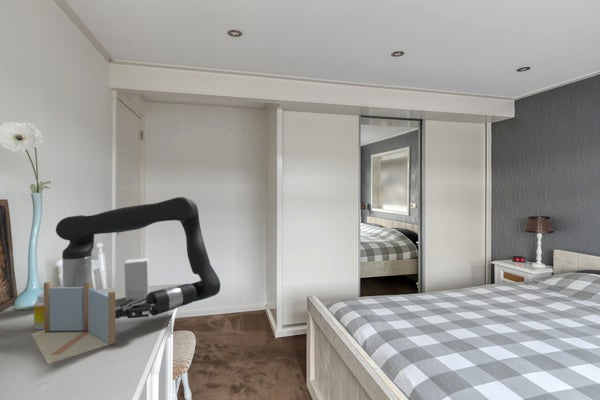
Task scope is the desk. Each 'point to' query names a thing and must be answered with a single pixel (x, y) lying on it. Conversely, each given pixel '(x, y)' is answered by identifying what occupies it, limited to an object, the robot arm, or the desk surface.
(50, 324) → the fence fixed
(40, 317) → the supplement bottle
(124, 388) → the desk surface
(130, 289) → the skincare box
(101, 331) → the fence panel
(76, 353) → the card
